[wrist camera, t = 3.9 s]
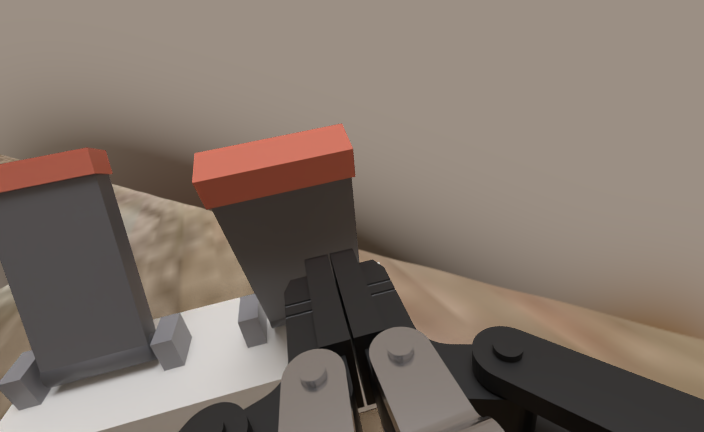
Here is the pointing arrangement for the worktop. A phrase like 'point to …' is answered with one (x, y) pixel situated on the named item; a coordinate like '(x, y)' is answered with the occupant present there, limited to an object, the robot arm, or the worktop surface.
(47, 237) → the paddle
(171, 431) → the white paddle base
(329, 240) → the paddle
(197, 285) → the worktop surface
